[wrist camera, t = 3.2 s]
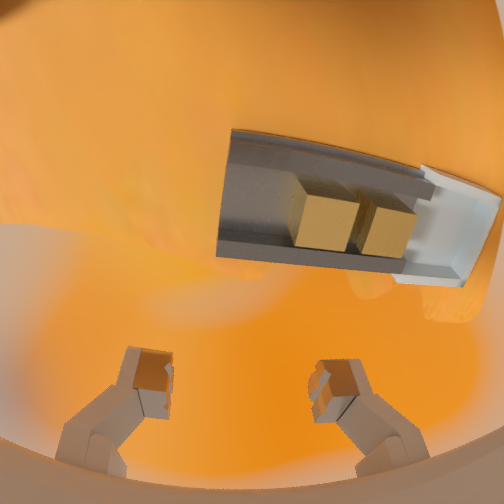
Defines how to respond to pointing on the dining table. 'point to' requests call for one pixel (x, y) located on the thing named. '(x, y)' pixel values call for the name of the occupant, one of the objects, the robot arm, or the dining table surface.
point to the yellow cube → (382, 225)
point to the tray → (448, 231)
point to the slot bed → (282, 191)
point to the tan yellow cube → (321, 215)
